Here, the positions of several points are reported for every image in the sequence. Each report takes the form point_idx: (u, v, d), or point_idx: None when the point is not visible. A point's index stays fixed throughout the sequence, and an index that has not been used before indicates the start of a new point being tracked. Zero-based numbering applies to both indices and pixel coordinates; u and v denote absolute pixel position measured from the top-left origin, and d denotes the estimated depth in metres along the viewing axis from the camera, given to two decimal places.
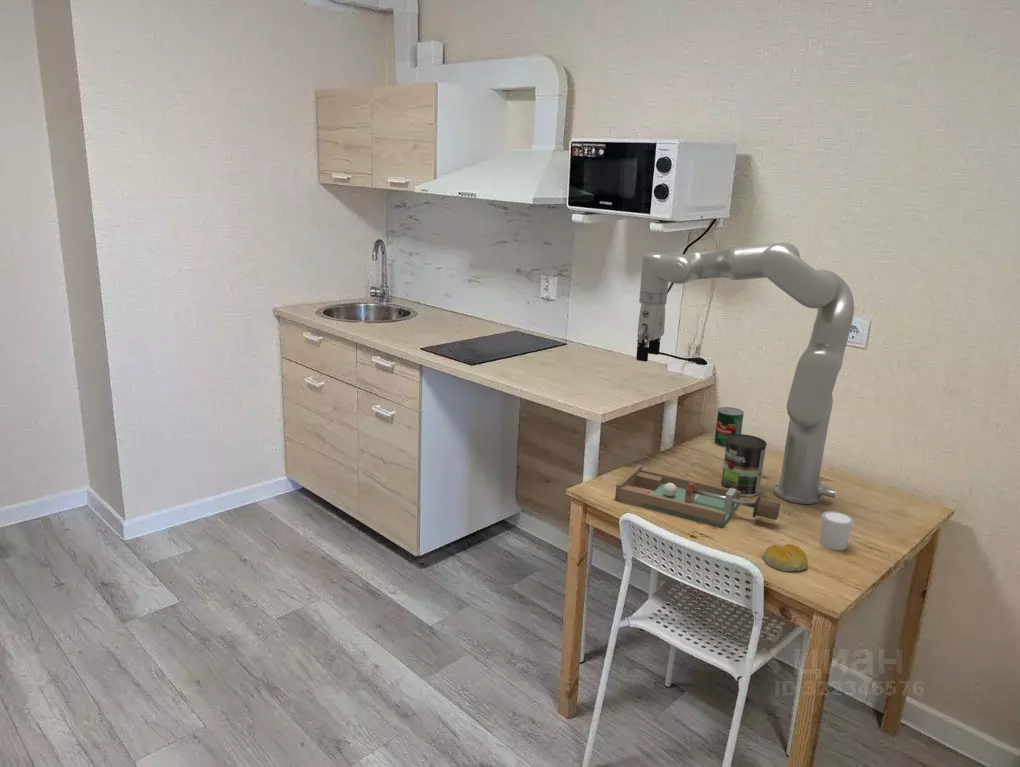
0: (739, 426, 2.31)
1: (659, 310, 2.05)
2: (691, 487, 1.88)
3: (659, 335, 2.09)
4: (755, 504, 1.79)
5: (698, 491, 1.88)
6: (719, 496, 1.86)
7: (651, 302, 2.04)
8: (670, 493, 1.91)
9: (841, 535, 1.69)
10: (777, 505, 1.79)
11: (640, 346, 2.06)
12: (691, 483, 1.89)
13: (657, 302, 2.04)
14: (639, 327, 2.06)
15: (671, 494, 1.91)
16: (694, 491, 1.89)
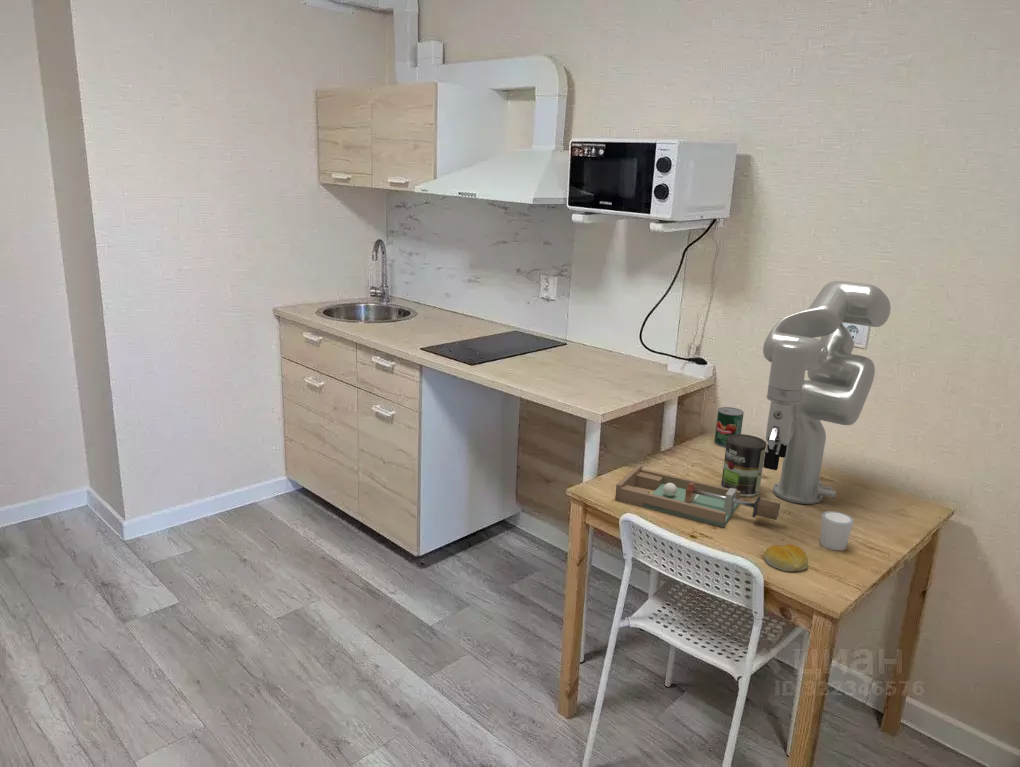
0: (739, 426, 2.31)
1: (793, 410, 1.71)
2: (691, 487, 1.88)
3: (790, 438, 1.74)
4: (755, 504, 1.79)
5: (698, 491, 1.88)
6: (719, 496, 1.86)
7: (784, 401, 1.69)
8: (670, 493, 1.91)
9: (841, 535, 1.69)
10: (777, 505, 1.79)
11: (770, 452, 1.71)
12: (691, 483, 1.89)
13: (792, 401, 1.69)
14: (768, 429, 1.71)
15: (671, 494, 1.91)
16: (694, 491, 1.89)
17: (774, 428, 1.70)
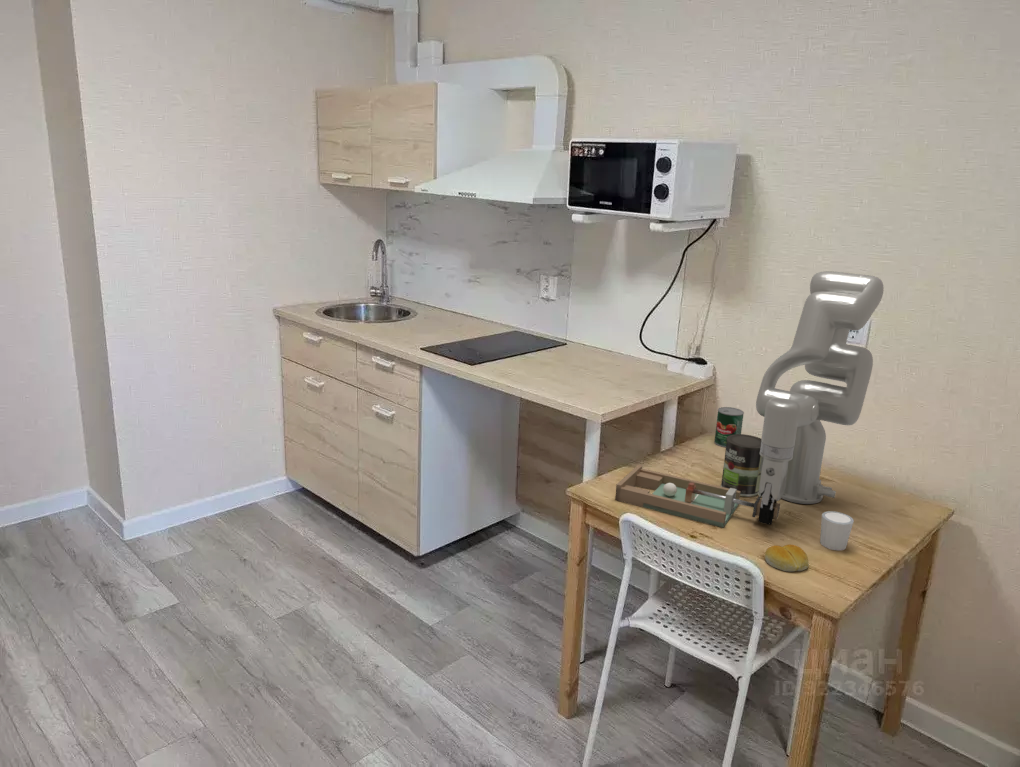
0: (739, 426, 2.31)
1: (785, 466, 1.74)
2: (691, 487, 1.88)
3: (783, 492, 1.78)
4: (755, 504, 1.79)
5: (698, 491, 1.88)
6: (719, 496, 1.86)
7: (777, 458, 1.73)
8: (670, 493, 1.91)
9: (841, 535, 1.69)
10: (777, 505, 1.79)
11: (764, 508, 1.78)
12: (691, 483, 1.89)
13: (784, 458, 1.73)
14: (761, 485, 1.75)
15: (671, 494, 1.91)
16: (694, 491, 1.89)
17: (766, 487, 1.75)
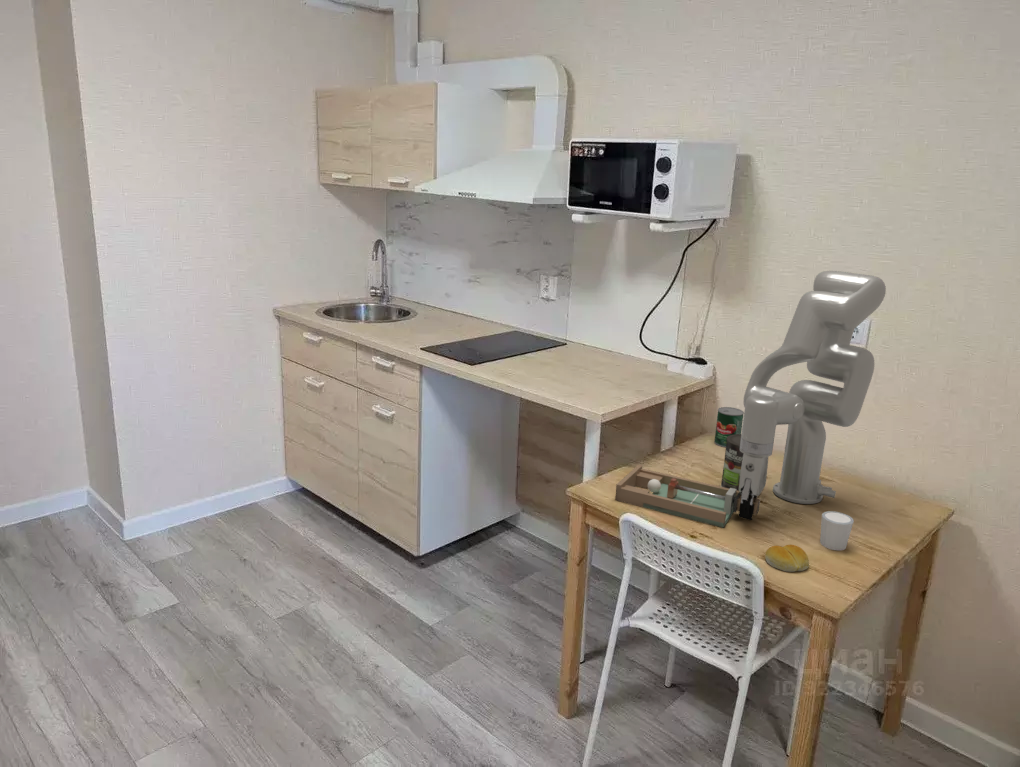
0: (739, 426, 2.31)
1: (764, 462, 1.77)
2: (673, 483, 1.91)
3: (762, 488, 1.80)
4: (735, 499, 1.82)
5: (680, 487, 1.90)
6: (701, 492, 1.88)
7: (756, 454, 1.75)
8: (652, 485, 1.93)
9: (841, 535, 1.69)
10: (757, 500, 1.81)
11: (744, 503, 1.80)
12: (673, 479, 1.91)
13: (763, 454, 1.75)
14: (741, 481, 1.77)
15: (653, 483, 1.93)
16: (676, 487, 1.91)
17: (746, 483, 1.77)
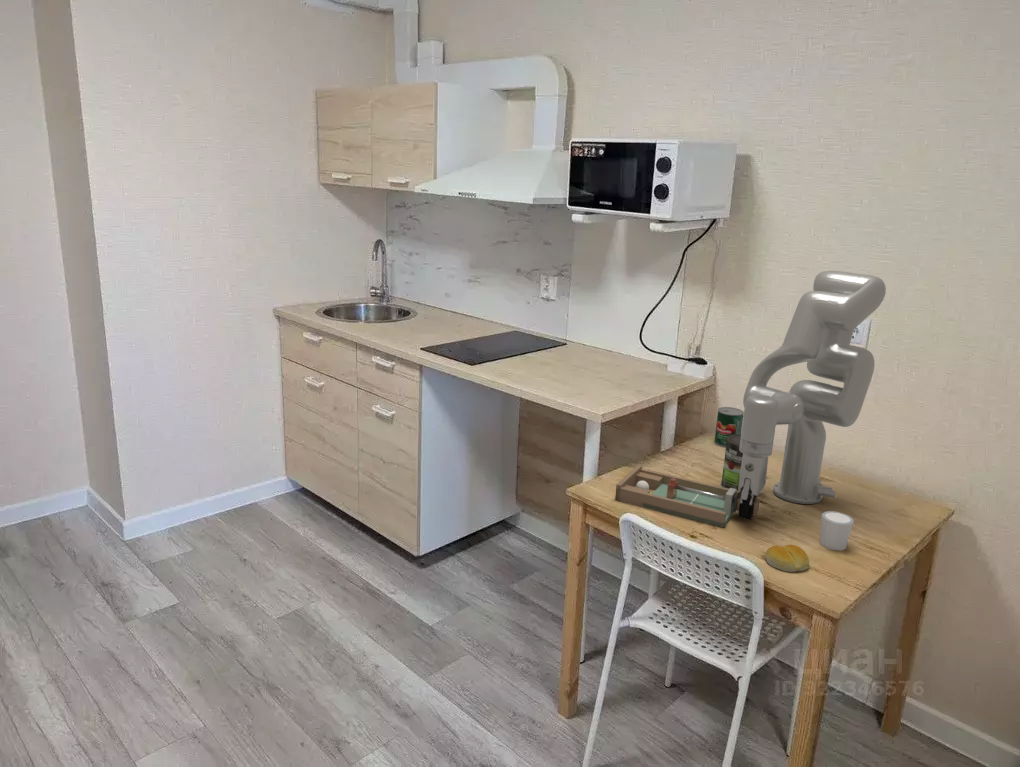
0: (739, 426, 2.31)
1: (764, 462, 1.77)
2: (673, 483, 1.91)
3: (762, 488, 1.80)
4: (735, 499, 1.82)
5: (680, 487, 1.90)
6: (700, 492, 1.88)
7: (756, 454, 1.75)
8: None
9: (841, 535, 1.69)
10: (757, 500, 1.82)
11: (744, 503, 1.80)
12: (673, 479, 1.91)
13: (763, 454, 1.75)
14: (741, 481, 1.77)
15: None
16: (676, 487, 1.91)
17: (746, 483, 1.77)
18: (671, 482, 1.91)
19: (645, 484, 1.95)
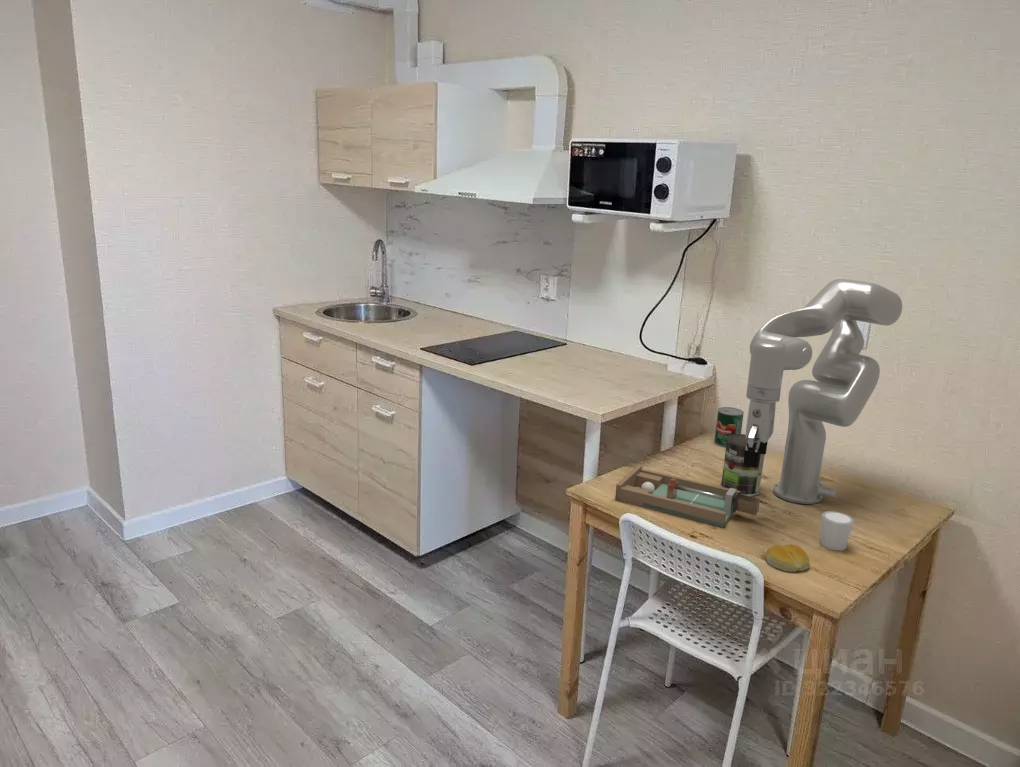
0: (739, 426, 2.31)
1: (772, 408, 1.73)
2: (673, 483, 1.91)
3: (770, 435, 1.77)
4: (735, 499, 1.82)
5: (680, 487, 1.90)
6: (700, 492, 1.88)
7: (763, 399, 1.72)
8: (643, 488, 1.94)
9: (841, 535, 1.69)
10: (757, 500, 1.82)
11: (749, 450, 1.74)
12: (673, 479, 1.91)
13: (770, 399, 1.72)
14: (748, 428, 1.74)
15: (642, 487, 1.95)
16: (676, 487, 1.91)
17: (753, 426, 1.73)
18: (671, 482, 1.91)
19: (652, 490, 1.94)
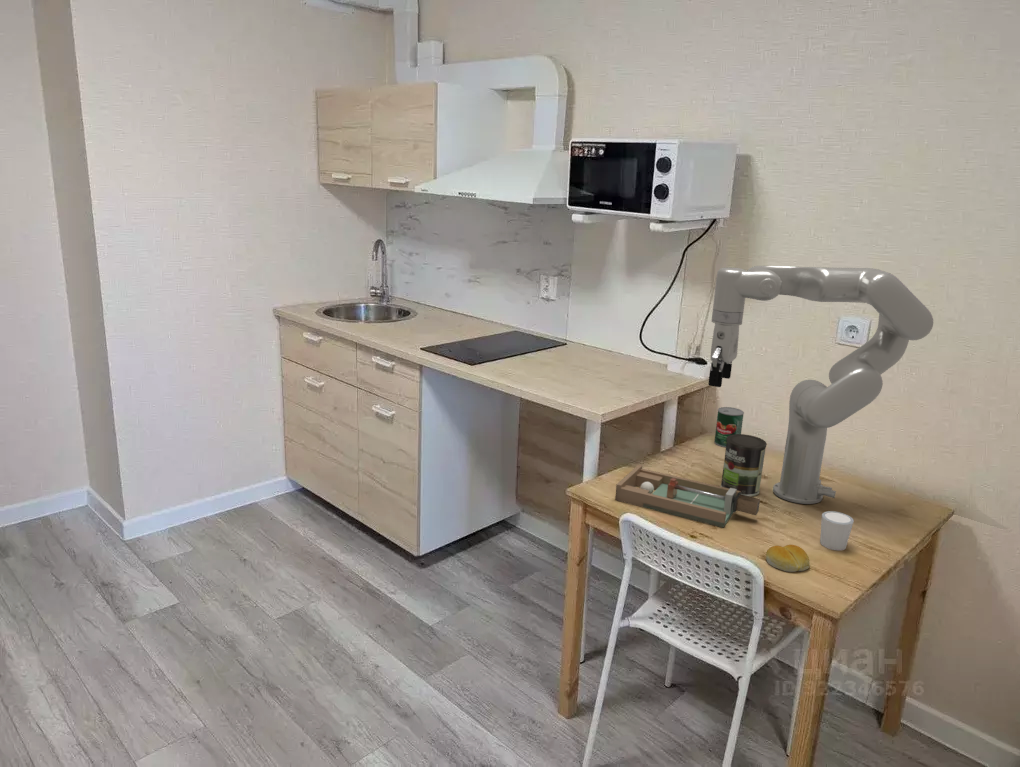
0: (739, 426, 2.31)
1: (735, 331, 1.86)
2: (673, 483, 1.91)
3: (733, 358, 1.89)
4: (735, 499, 1.82)
5: (680, 487, 1.90)
6: (700, 492, 1.88)
7: (727, 322, 1.84)
8: (642, 488, 1.95)
9: (841, 535, 1.69)
10: (757, 500, 1.82)
11: (714, 370, 1.86)
12: (673, 479, 1.91)
13: (733, 322, 1.84)
14: (712, 349, 1.86)
15: (641, 487, 1.95)
16: (676, 487, 1.91)
17: (717, 347, 1.85)
18: (671, 482, 1.91)
19: (652, 489, 1.94)
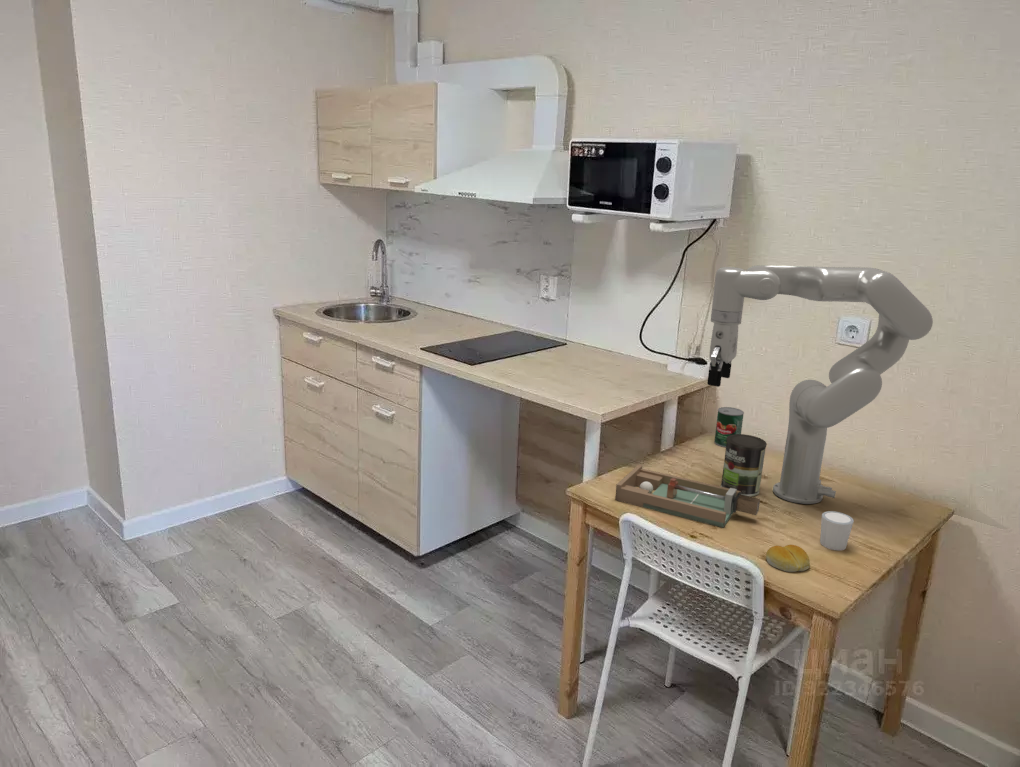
0: (739, 426, 2.31)
1: (734, 330, 1.86)
2: (673, 483, 1.91)
3: (732, 357, 1.90)
4: (735, 499, 1.82)
5: (680, 487, 1.90)
6: (700, 492, 1.88)
7: (725, 321, 1.85)
8: None
9: (841, 535, 1.69)
10: (757, 500, 1.82)
11: (713, 370, 1.87)
12: (673, 479, 1.91)
13: (732, 321, 1.85)
14: (711, 349, 1.87)
15: (640, 487, 1.95)
16: (676, 487, 1.91)
17: (716, 347, 1.86)
18: (671, 482, 1.91)
19: (651, 488, 1.94)
